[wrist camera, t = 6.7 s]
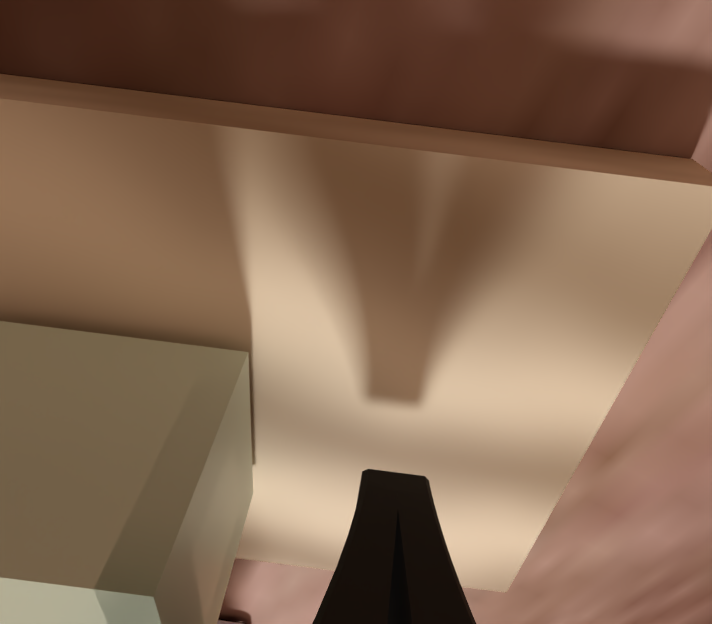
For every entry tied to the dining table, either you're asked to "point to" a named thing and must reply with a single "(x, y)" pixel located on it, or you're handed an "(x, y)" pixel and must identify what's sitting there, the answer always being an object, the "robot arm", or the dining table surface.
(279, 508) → the stud board
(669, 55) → the dining table surface
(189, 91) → the dining table surface
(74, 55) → the dining table surface
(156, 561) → the pale green cube
